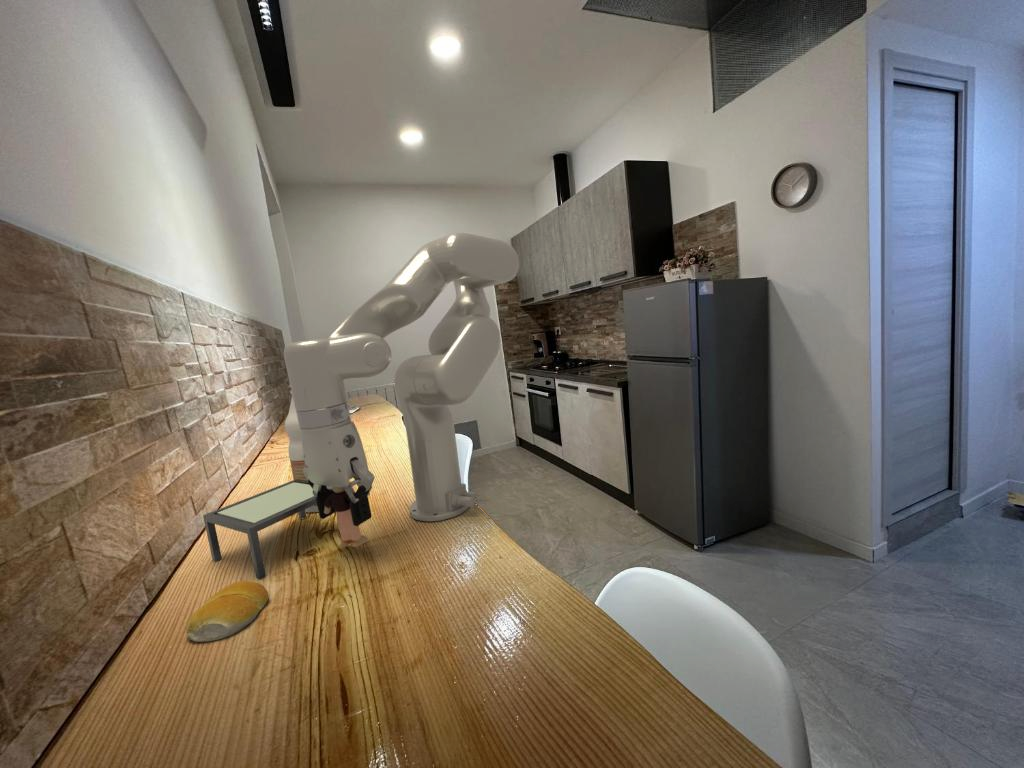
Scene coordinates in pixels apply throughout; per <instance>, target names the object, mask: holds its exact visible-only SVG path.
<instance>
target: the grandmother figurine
mask: <svg viewBox="0 0 1024 768" xmlns="http://www.w3.org/2000/svg"><path fill="white" fill-rule="evenodd" d="M326 487H327V489H332V490H333V491H334V492H336V493H333V494H331V495H330V496H329V497H328V498H327V500H326V501H325V503H324V505H325V510H324V513H325V514H329V513H330V509H331V507H334V510H335V513H336V521H337V527H338V530H339V536H340V538H341V542H340V544H339V546H340V547H341V548H345V547H348V546H350V547H352V548H357V547H359V546H362V545H363V544H365V543H366V542H367V541H368V540H369V539H368V537H367V536H366V535H363V534H361V531H360V528H359V526H354V524H353V520H352V515H351V510H350V506H349V503H350V502H352V501H351V499H350V497H349V496H348V494H347V492H346V491H345V489H344V488H337V487H331V486H326Z"/></svg>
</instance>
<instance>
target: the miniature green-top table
mask: <svg viewBox="0 0 1024 768" xmlns="http://www.w3.org/2000/svg"><path fill="white" fill-rule="evenodd" d="M294 482H295V483H301V484H308V481H307V480H300V479H295V480H294V479H293V480H291V481H288V482H286V483H282V484H280V485H277V486H276V487H272V488H270V489H267V490H265V491H262V492H259V493H257V494H255V495H252V496H250V497H246V498H244V499H242V500H240V501H237V502H233V503H232V504H228V505H226V506H223V507H220V508H219V509H215V510H214V511H211V512H209V513H206V514H203V515H202V517H203V522H204V527H205V532H206V536H207V541H208V545H209V550H210V554H211V559H212V562H215V563H217V562H218V561H220V560H221V561H222V559H223V558H222V553H221V548H220V547H221V546H220V543H219V537H218V534H217V529H216V526H220V527H223V528H226V529H227V528H228V529H230V530H234V531H237V532H239V533H243V534H247V535H246V536H247V539H248V544H249V549H250V550H249V551H250V554H251V559H252V565H253V570H254V573H255V579H257V580H262V579H263V578H265V577H266V576H267V573H266V568H265V563H264V557H263V554H262V553H263V552H262V548H261V543H260V538H259V533H258V532H261V531H262V530H264V529H267V528H269V527H270V526H273V525H274V524H277V523H279V522H281V521H284V520H286V519H287V518H289V517H292V516H294V515H296V514H298V515H297V516H298V519H299V518H301V519H300V520H303V519H302V518H304V519H306V518H307V513H306V512H305V509H307V508H309V507H311V506H313V505H315V504H317V502H316V497H317V496H316V497H313V498H311V499H309V500H307V501H305V502H302V503H300V504H298V505H296V506H293V507H291V508H289V509H287V510H285V511H282V512H280V513H278V514H276V515H273V516H271V517H269V518H267V519H264V520H262V521H260V522H258V523H256V524H253V525H252V524H248V523H244V522H241V521H237V520H234V519H230V518H226V517H223V516H219V515H217V513H218V512H220V511H223V510H225V509H228V508H230V507H233V506H235V505H238V504H240V503H243V502H246V501H248V500H251V499H253V498H256V497H258V496H261V495H263V494H266V493H268V492H271V491H273V490H276V489H278V488H281V487H284V486H286V485H289V484H291V483H294ZM308 485H309V484H308ZM335 493H336V492H335ZM305 517H306V518H305Z"/></svg>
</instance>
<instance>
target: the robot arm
mask: <svg viewBox="0 0 1024 768" xmlns="http://www.w3.org/2000/svg"><path fill="white" fill-rule="evenodd" d="M519 268H520V260H519V256H518V252H517V251H516V250H515V248H514V247H513V246H512V245H511V244H509V243H508V242H506V241H504V240H501V239H497V238H493V237H486V236H483V235H478V234H477V235H476V234H473V233H472V234H471V233H465V232H454V233H450V234H448V235H445V236H442V237H440V238H437V239H434V240H432V241H429V242H427V243H425V244H424V245H422V246H421V247H420V248H419V249H418V250H417V251H416V252H415V253H414V254H413V255H412V256H411V257H410V259H409V260H408V261H407V262H406V263H405V264H404V266H403V267H402V268H401V269H399V271H398V272H397V273H396V274H395V275H394V276H393V277H392V279H390V280H389V282H388V283H387V284H385V286H383V287H382V288H381V289H380V290H379V291H377V292H375V293H374V294H373V295H372V296H371V297H370V298H369V299H368V300H367V301H365V302H364V303H363V304H361V305H360V306H359V307H358V308H357V309H355V310H354V311H353V312H352V313H351V314H350V315H348V316H347V317H346V318H345V319H344V320H343V322H342V323H340V324H339V325H338V327H337V328H336V329H335V330H334V331H333V332H332V333H331V334H330V335H329V337H328V338H317V339H309V340H302V341H294V342H291V343H288V344H287V345H286V346H285V347H284V348H283V349H284V350H283V359H284V362H285V366H286V367H285V368H286V371H287V376H288V377H287V378H288V380H289V386H291V391H292V394H291V396H292V395H293V400H294V404H295V409H296V413H297V418H298V422H299V427H300V431H301V436H302V447H303V454H304V460H305V465H306V466H305V468H304V469H303V473H304V475H305V477H306V478H307V480H308V484H309V485H310V486H311V487H312V489H313V491H312V493H313V495H314V496H317V497H316V502H317V506H318V511H319V512H318V514H319V518H320V520H321V519H323V520H325V519H326V518H328V517H330V516H331V515H333V514H335V513H336V512H335V510H334V507H331V509H330V513H329V514H325V513H324V510H325V505H324V503H325V501H326V500H327V498H328V497H329V496H330V495H331V494H333V493H335V492H334V491H333V490H332V489H331V490H330V489H327V487H326V486H331V487H337V488H344V489H345V491H346V492H347V494H348V496H349V497H350V499H351V501H352V502H350V503H349V506H350V510H351V515H352V520H353V524H354V526H358V527H359V526H360V525H362V524H364V523H365V522H367V521H368V520H370V519H372V511H371V506H370V501H369V496H370V494H371V490H372V489H373V484H374V480H375V476H374V474H373V473H372V472H371V471H370V470H369V464H368V461H367V457H366V452H365V449H364V445H363V442H362V439H361V436H360V433H359V431H358V429H357V427H356V424H355V422H354V421H352V418H351V414H350V408H349V403H348V398H347V391H346V388H345V384H344V380H348V379H349V380H350V379H360V378H363V379H365V378H372V377H375V376H377V375H380V374H381V373H383V372H384V371H386V369H387V368H388V366H389V365H390V363H391V361H392V350H391V347H390V345H389V343H388V342H387V341H386V340H385V338H386V337H387V336H389V335H391V334H393V333H394V332H395V331H398V330H400V329H402V328H404V327H406V326H409V325H411V324H412V323H414V322H415V321H417V320H419V319H421V318H422V317H423V316H424V315H425V313H426V312H427V311H428V310H429V309H430V307H431V306H432V305H433V303H434V302H435V300H436V299H437V298H438V297H439V296H440V294H441V293H442V292H443V291H444V289H445V288H446V287H447V285H449V284H450V283H452V282H453V285H454V288H455V289H454V290H455V300H454V302H453V303H452V305H451V307H450V308H449V309H448V311H447V312H446V313H445V314H444V315H443V317H442V319H441V320H440V321H439V322H438V324H437V325H436V326H435V327H434V329H433V330H432V331H431V333H430V336H429V339H428V350H429V353H430V354H424V355H417V356H411V357H409V358H407V359H405V360H404V361H402V363H400V365H398V367H397V369H396V371H395V374H394V380H393V383H394V389H395V393H396V397H397V399H398V402H399V405H400V408H401V411H402V417H403V420H404V426H405V432H406V438H407V439H406V440H407V446H408V454H409V460H410V467H411V474H412V476H411V477H412V481H413V482H412V483H413V488H414V494H415V500H414V501H413V502H412V503H411V504H410V505H409V509H408V511H409V516H410V517H411V518H412V519H414V520H416V521H420V522H438V521H439V522H440V521H443V520H448V519H451V518H454V517H457V516H460V515H461V514H462V513H464V512H465V511H467V510H468V509H469V508H474V507H475V505H476V499H477V497H478V495H477V493H476V492H473V491H467V485H466V483H464V482H463V483H462V477H461V471H460V470H461V469H460V465H459V463H460V462H459V453H458V447H457V439H456V437H457V436H456V430H455V429H456V428H455V423H454V418H453V415H452V411H451V410H450V407H449V406H455V405H460V404H463V403H465V402H466V401H468V400H469V399H470V398H471V396H472V395H473V394H474V393H475V391H476V390H477V389H478V387H479V385H480V384H481V382H482V381H483V379H484V377H485V376H486V374H487V372H488V371H489V369H490V368H491V366H492V364H493V363H494V361H495V359H496V358H497V355H498V353H499V350H500V347H501V334H500V330H499V327H498V325H497V322H495V320H493V319H492V318H491V317H490V316H491V309H490V308H491V307H490V305H489V302H488V300H487V297H486V293H485V289H484V288H489V287H491V286H497V285H500V284H505V283H508V282H510V281H512V280H513V279H514V278H515V277H516V276H517V274H518V272H519ZM351 479H354V480H352V481H350V480H351ZM354 486H356V487H358V488H357V489H356V491H355V489H354V488H353V487H354Z"/></svg>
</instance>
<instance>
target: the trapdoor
mask: <svg viewBox="0 0 1024 768" xmlns="http://www.w3.org/2000/svg"><path fill="white" fill-rule="evenodd" d="M330 490H331V489H330ZM312 491H313V489H312V487H311V486H310V485H308V484H301V483H295V482H294V483H291V484H289V485H286V486H284V487H281V488H278V489H276V490H273V491H271V492H268V493H266V494H263V495H261V496H258V497H256V498H253V499H251V500H248V501H246V502H243V503H240V504H238V505H235V506H233V507H230V508H228V509H225V510H223V511H220V512H218V513H217V515H219V516H223V517H226V518H230V519H234V520H237V521H241V522H244V523H248V524H252V525H253V524H256V523H258V522H260V521H262V520H264V519H267V518H269V517H271V516H273V515H276V514H278V513H280V512H282V511H285V510H287V509H289V508H291V507H293V506H296V505H298V504H300V503H302V502H305V501H307V500H309V499H311V498H313V497H316V496H314V495H313V493H312ZM314 506H317V504H315V505H314Z"/></svg>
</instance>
